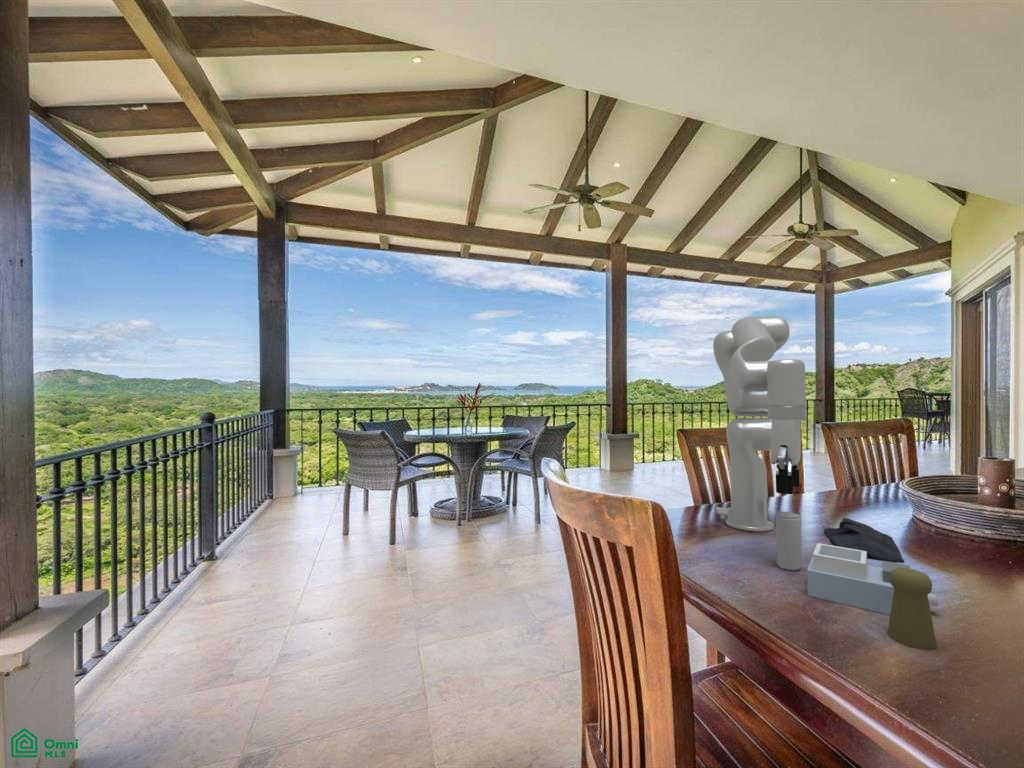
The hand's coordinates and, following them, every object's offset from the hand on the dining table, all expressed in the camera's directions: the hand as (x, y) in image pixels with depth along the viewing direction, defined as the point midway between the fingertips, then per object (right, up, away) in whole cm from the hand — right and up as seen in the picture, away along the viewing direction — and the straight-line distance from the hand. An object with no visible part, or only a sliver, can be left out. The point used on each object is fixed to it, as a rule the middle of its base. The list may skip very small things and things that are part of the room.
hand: (788, 489), depth 104 cm
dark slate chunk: (+27, -18, +14) cm, 36 cm away
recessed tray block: (+6, -17, -16) cm, 24 cm away
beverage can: (0, -18, 0) cm, 18 cm away
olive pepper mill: (+2, -18, -30) cm, 34 cm away
